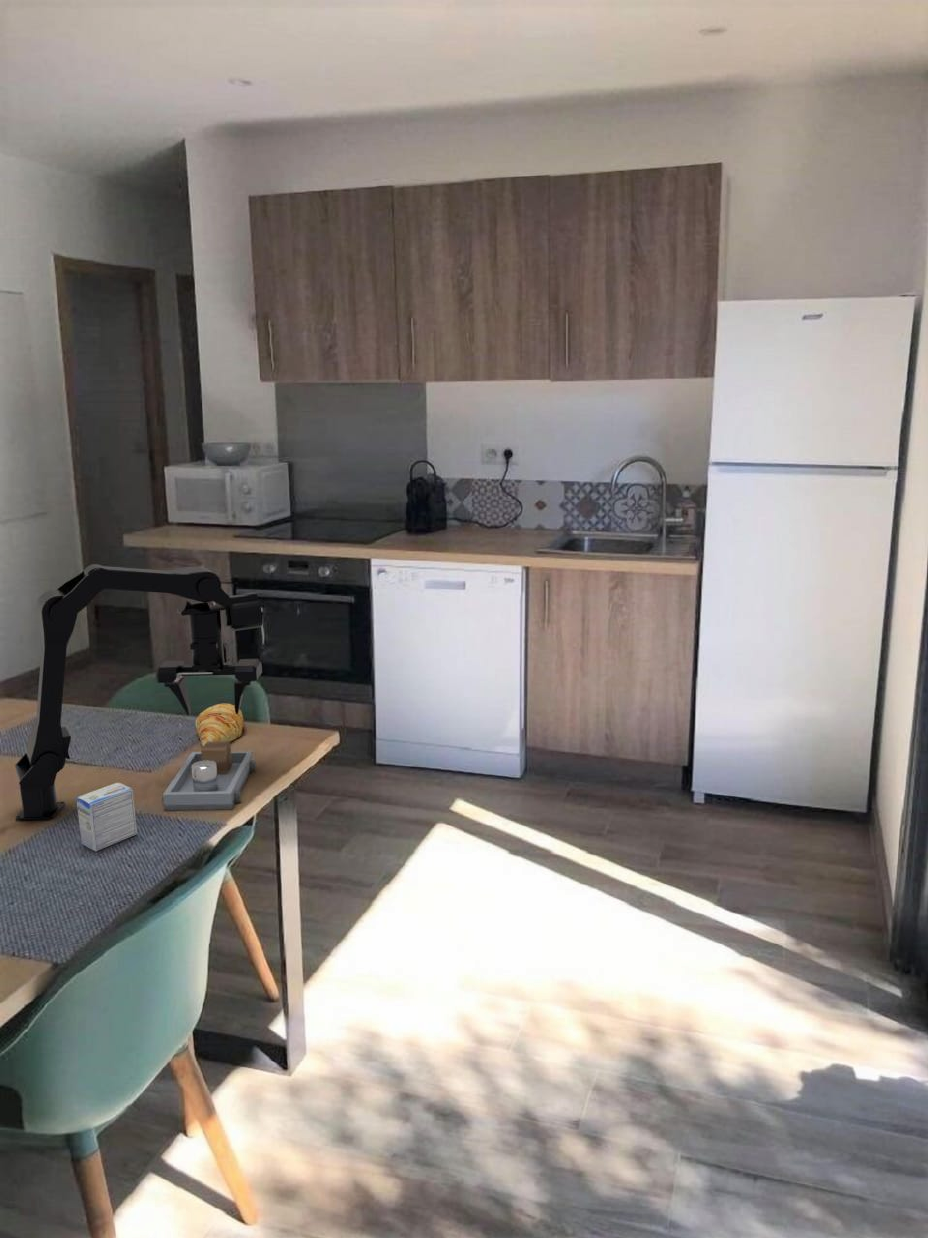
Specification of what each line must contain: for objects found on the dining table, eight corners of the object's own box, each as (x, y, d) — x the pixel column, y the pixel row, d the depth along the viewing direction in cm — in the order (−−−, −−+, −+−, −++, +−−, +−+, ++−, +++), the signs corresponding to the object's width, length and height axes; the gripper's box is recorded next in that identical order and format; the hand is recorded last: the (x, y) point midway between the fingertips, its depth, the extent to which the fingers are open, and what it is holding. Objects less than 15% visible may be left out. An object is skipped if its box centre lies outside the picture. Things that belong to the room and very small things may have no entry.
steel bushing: (215, 795, 181) (213, 769, 179) (191, 795, 181) (188, 770, 179) (220, 785, 185) (218, 760, 184) (197, 785, 185) (194, 760, 184)
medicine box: (123, 828, 171) (118, 781, 169) (138, 835, 168) (133, 787, 166) (81, 845, 165) (75, 796, 163) (95, 853, 162) (89, 804, 160)
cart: (237, 809, 177) (236, 793, 176) (158, 810, 177) (157, 795, 176) (258, 765, 197) (257, 750, 196) (188, 766, 197) (186, 752, 196)
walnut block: (227, 774, 190) (225, 749, 189) (203, 774, 190) (201, 750, 189) (232, 765, 194) (230, 741, 193) (208, 765, 194) (206, 741, 193)
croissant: (222, 769, 204) (237, 737, 202) (177, 748, 203) (192, 715, 201) (245, 730, 224) (260, 700, 222) (205, 710, 223) (218, 681, 221)
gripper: (264, 622, 193) (269, 699, 197) (168, 624, 193) (175, 700, 197) (253, 638, 182) (259, 718, 186) (151, 640, 182) (159, 720, 186)
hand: (213, 713), depth 189 cm, fingers open, 9 cm apart
